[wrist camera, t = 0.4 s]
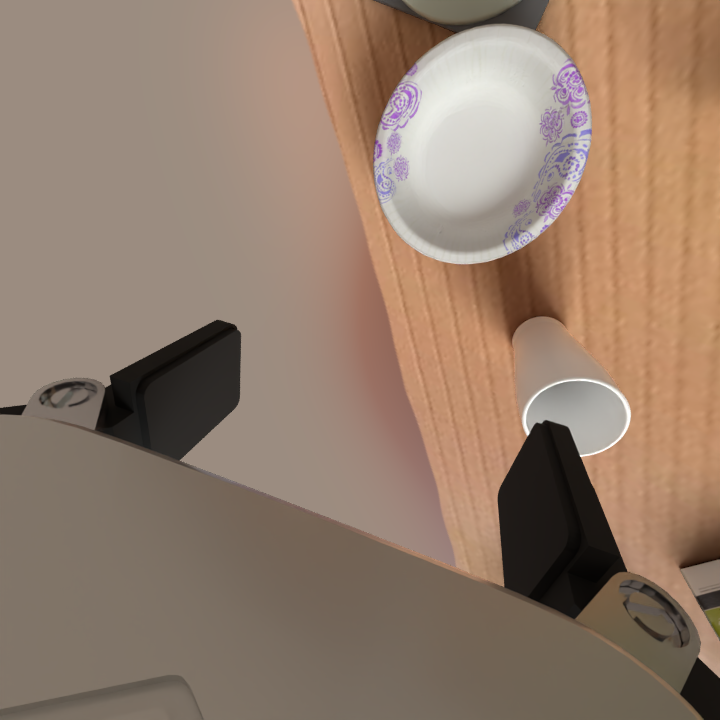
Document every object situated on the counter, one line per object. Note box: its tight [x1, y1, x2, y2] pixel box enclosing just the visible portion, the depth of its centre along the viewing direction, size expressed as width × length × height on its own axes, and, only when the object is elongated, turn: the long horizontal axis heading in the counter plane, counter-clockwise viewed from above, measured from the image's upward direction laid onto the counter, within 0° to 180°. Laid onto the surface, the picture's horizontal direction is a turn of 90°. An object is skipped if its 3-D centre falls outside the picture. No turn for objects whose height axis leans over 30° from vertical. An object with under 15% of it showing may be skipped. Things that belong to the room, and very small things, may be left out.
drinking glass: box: [512, 316, 631, 457], centre depth 31 cm, size 7×7×15 cm
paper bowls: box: [373, 24, 592, 264], centre depth 29 cm, size 15×15×8 cm
